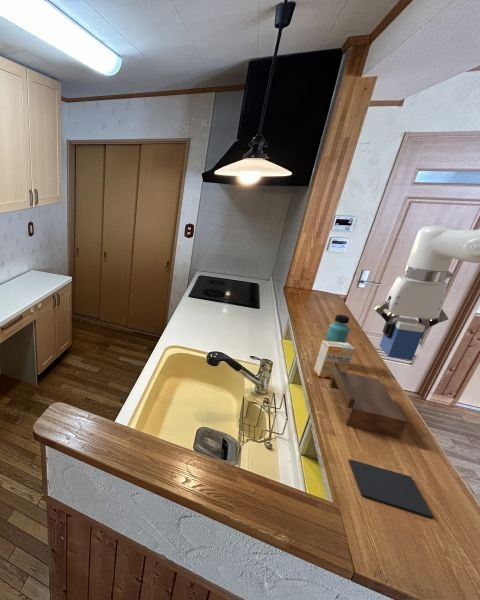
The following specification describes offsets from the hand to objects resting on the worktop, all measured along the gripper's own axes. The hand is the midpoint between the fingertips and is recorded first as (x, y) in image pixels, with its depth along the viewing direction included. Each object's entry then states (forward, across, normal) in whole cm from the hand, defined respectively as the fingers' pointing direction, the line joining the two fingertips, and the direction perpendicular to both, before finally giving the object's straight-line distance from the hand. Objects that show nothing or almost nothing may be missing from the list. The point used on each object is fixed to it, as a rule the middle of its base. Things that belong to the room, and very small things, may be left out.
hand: (400, 337), depth 89 cm
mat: (+27, +5, +30) cm, 40 cm away
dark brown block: (+27, +2, -3) cm, 27 cm away
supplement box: (+27, +7, -20) cm, 34 cm away
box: (+5, 0, 0) cm, 5 cm away
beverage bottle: (+27, +5, -32) cm, 42 cm away
